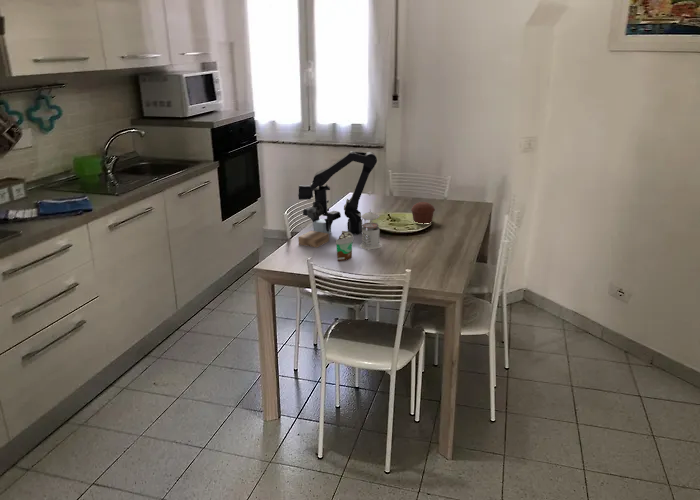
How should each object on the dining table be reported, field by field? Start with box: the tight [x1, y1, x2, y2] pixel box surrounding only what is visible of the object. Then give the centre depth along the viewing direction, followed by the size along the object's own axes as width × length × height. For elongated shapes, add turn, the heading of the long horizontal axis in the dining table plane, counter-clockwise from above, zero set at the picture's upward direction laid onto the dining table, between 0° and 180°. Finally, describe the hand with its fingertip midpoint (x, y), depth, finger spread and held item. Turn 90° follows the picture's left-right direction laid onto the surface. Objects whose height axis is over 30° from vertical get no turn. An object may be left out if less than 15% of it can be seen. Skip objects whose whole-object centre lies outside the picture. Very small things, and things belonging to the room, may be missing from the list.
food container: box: [335, 230, 355, 262], centre depth 245 cm, size 12×6×10 cm, turn 168°
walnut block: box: [297, 230, 330, 248], centre depth 265 cm, size 10×10×4 cm
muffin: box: [410, 201, 436, 224], centre depth 287 cm, size 12×11×10 cm
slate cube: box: [312, 218, 332, 235], centre depth 277 cm, size 6×6×6 cm
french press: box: [359, 191, 383, 250], centre depth 256 cm, size 10×12×25 cm
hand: (322, 230), depth 278 cm, fingers closed on slate cube, 6 cm apart
